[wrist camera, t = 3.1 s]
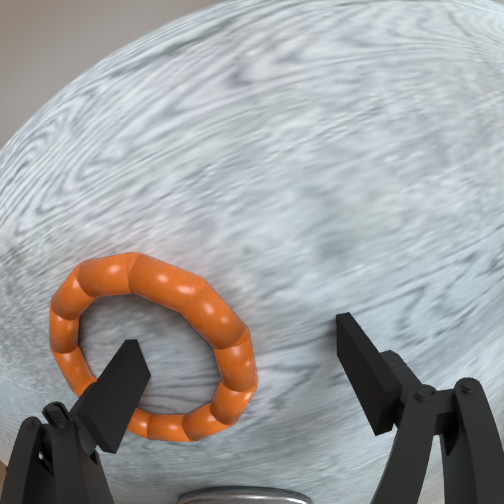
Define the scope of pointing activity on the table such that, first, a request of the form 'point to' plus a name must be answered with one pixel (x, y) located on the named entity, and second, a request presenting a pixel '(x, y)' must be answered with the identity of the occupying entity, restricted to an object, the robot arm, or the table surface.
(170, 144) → the table surface
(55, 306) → the ring
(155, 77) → the table surface
